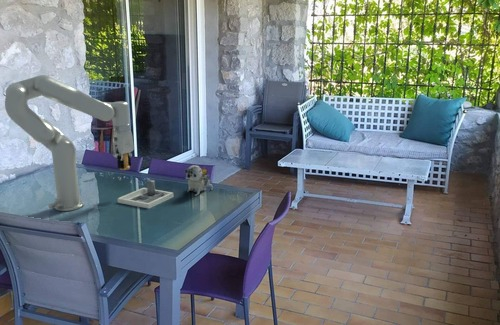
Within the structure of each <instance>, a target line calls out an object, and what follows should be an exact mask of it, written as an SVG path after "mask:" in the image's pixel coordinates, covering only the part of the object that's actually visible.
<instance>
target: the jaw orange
mask: <svg viewBox="0 0 500 325" xmlns="http://www.w3.org/2000/svg"><path fill="white" fill-rule="evenodd" d="M119 156H121V155H119ZM123 160H124V169H120V168H119V170H120V171H126V170H130V169H131V166H129V165H128V153H126V154H123Z"/></svg>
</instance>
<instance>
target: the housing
mask: <svg viewBox="0 0 500 325" xmlns="http://www.w3.org/2000/svg"><path fill="white" fill-rule="evenodd" d="M155 194H156V195H155V196H153V197H151V196H147V187H141V188H139V189H137V190H134V191H132V192H129V193H127V194H125V195H122V196H120V197H118V198H117V203H118V204H124V205H128V206H134V207H140V208H142V209H147V210H148V209H151V208H154V207H155V206H158V205H160V204H162V203H164V202H166V201H168V200H170V199H172V198H174V192H172V191H165V190H159V189H155Z"/></svg>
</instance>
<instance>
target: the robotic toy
mask: <svg viewBox="0 0 500 325" xmlns="http://www.w3.org/2000/svg"><path fill="white" fill-rule="evenodd" d="M207 168H208V167H207ZM207 168H206V166H204V167H202V168H201V167H200V166H199V165H197V164H196V165H191V166H189V167H188V168H187V167H186V168H185V170H184V173H185V175H186V176H185V180H187V184H188V190H187V191H186V192H187V193H189V192H194V193H196V194H194V196H195V197H197V196H199V195H200V193H201V192H203V191H204V190H205V189H206V188H208V187H209V188H210V190H211V191H213V190H214V186H213V184H212V183H211V182H210V174H208V171H209V170H208V169H207Z"/></svg>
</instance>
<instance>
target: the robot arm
mask: <svg viewBox="0 0 500 325" xmlns="http://www.w3.org/2000/svg"><path fill="white" fill-rule="evenodd" d="M41 96H42V97H44V98H47V99H49V100H51V101H54V102H56V103H59V104H62V105H64V106H65V107H68V108H70V109H73V110H75V111H78V112H81V113H83V114H86V115H88V116H91V117H93V118H95V119H98V120H100V121H103V122H108V121H111V120H112V130H113V134H112V147H113V148H112V150H113V153H112V156H113V157H114V158H115V160H116V163H117V169H119V170H120V169H124V160H123V154H126V153H128V165H129V166H130V167H131V166H132V161H131V160H132V158H131V157H132V153H133V151H134V150H135V146H134V145H135V143H134V138H133V137H134V136H133V133H132V131H131V124H130V122H131V121H130V110H129V103H128V102H127V101H121V100H120V101H114V102H111V101H110V102H108V101H107V102H106V101H101V100H99V99H97V98H94V97H93V96H90V95H88V94H86V93H85V92H83V91H81V90H80V89H77V88H75V87H73V86H71V85H69V84H66V83H63V81H60V80H58V79H55V78H53V77H50V76H49V75H45V74H40V75H37V76H34V77H31V78H27V79H22V80H20V81H16V82H13V83H11V84H9V85H8V86H7V87H6V89H5V98H4V109H5V111H6V114H7V116H8V117H9V118H10V119H11V121H12V122H14V123H15V124H16V125H17V126H18V127H19V128H20V129H22V131H24V132H25V133H27V134H28V135H29V136H30V137H31V138H32V139H33V140H34V141H36V142H38V143H40V144H41V145H43V146H44V147H45V148H46V149H47V150H48V151H50V152H51V155H52V164H53V165H52V166H53V174H54V183H55V193H56V198H55V199H54V202H51V203H49V204H48V208H49V209H53V208H54V210H56V211H59V212H60V211H61V212H70V211H74V210H79V209H80V208H83V207H84V205H85V202H84V201H83V200H81V199H80V188H79V179H78V178H79V177H78V170H77V157H76V156H77V155H76V154H77V152H76V147H75V145H74V143H73V141H72V140H71V139H70V138H69V137H68V136H66V135H65V134H64V133H63V132H62V131H61V130H60V129H59V128H57V127H56V126H55V125H53V124H52V123H51V122H50V121H49V120H47V119H44V118H42V117H41V116H39V114H37V113H36V111H34V110H33V109H31V107H29V105H28V100H31V99H36V98H38V97H41ZM120 155H121V156H120Z"/></svg>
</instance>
